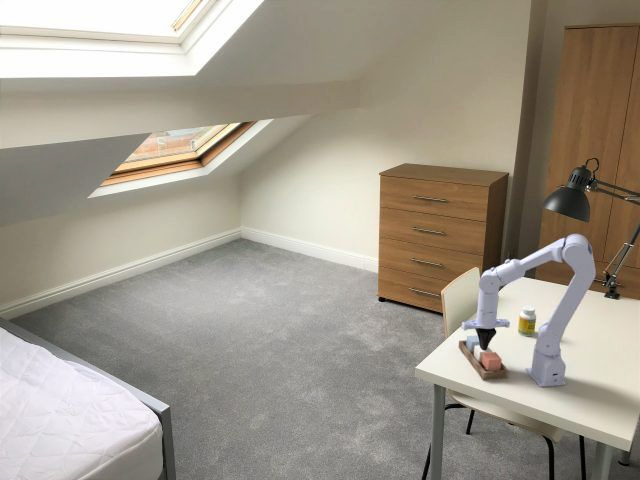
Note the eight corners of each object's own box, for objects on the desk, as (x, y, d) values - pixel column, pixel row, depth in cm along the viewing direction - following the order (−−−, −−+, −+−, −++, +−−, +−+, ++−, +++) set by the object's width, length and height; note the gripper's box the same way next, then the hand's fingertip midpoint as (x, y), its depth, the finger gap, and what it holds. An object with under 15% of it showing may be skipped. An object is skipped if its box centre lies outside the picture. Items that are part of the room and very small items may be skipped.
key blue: (482, 351, 170) (483, 341, 169) (470, 351, 170) (471, 342, 169) (477, 344, 174) (478, 335, 173) (466, 345, 174) (466, 336, 173)
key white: (491, 361, 164) (492, 351, 163) (478, 362, 164) (479, 352, 163) (485, 354, 168) (486, 344, 167) (473, 355, 168) (474, 345, 167)
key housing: (508, 378, 158) (508, 371, 157) (483, 380, 157) (483, 373, 156) (480, 345, 176) (481, 339, 175) (458, 347, 175) (459, 340, 174)
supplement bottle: (524, 328, 188) (527, 303, 185) (537, 334, 184) (540, 308, 181) (514, 332, 185) (517, 307, 182) (527, 338, 181) (530, 312, 178)
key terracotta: (500, 369, 158) (501, 359, 157) (487, 370, 158) (488, 360, 157) (494, 362, 162) (495, 352, 161) (482, 363, 162) (483, 353, 161)
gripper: (504, 301, 165) (499, 340, 170) (459, 304, 164) (456, 343, 168) (514, 311, 159) (509, 351, 163) (468, 314, 157) (464, 355, 161)
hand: (483, 348), depth 165 cm, fingers closed, pressing on key white
